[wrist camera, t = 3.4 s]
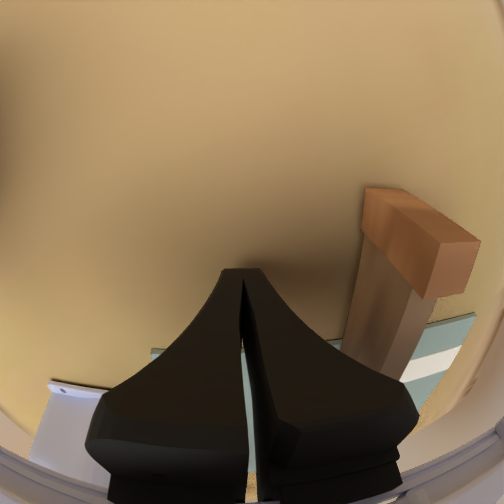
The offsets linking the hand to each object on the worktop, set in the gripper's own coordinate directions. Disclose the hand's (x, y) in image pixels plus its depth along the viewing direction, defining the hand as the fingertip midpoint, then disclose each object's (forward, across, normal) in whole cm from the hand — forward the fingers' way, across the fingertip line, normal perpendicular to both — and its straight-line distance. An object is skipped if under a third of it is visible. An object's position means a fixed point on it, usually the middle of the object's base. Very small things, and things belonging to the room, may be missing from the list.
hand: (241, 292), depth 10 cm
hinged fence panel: (+1, -5, +2) cm, 6 cm away
